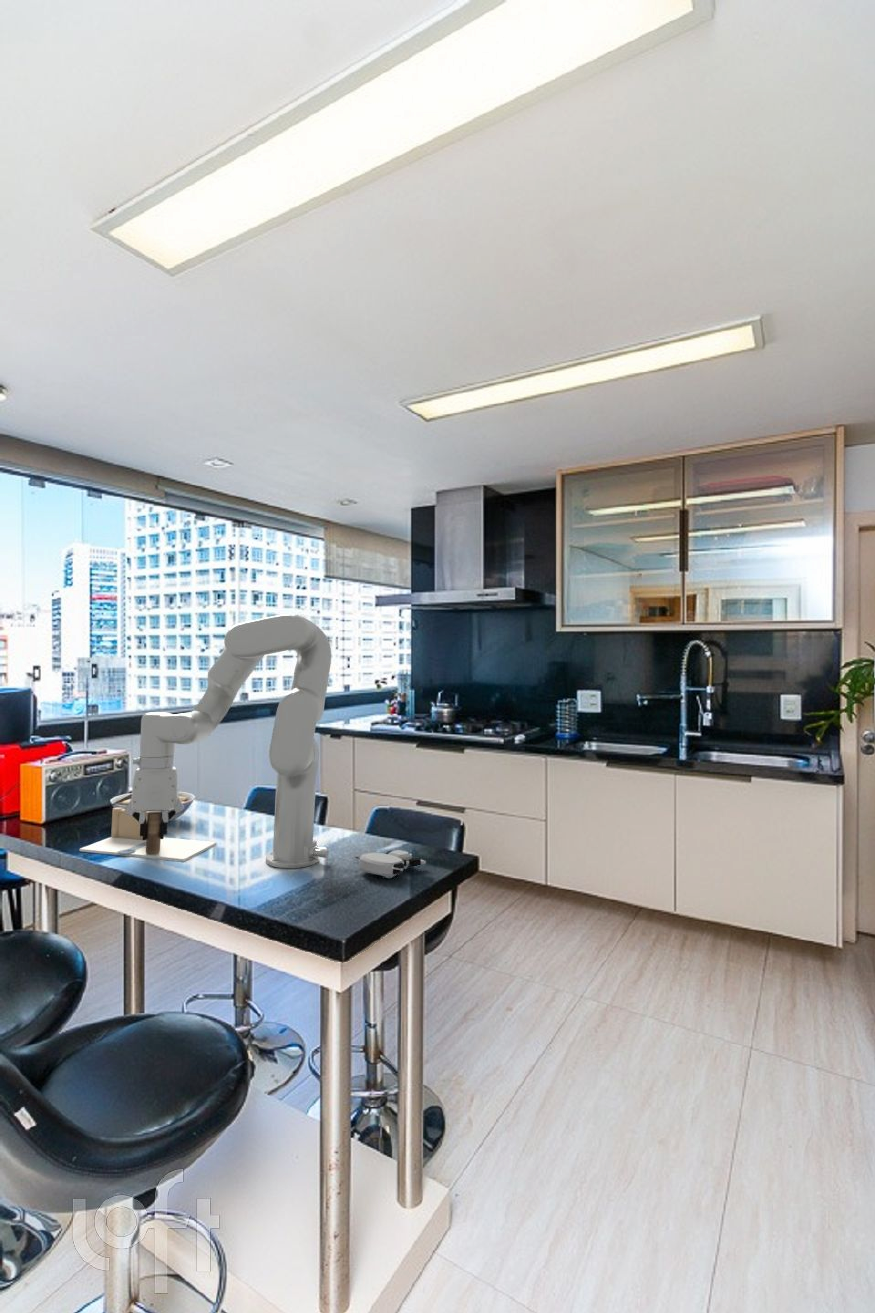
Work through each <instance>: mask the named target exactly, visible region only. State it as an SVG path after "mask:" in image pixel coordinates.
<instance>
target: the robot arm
mask: <svg viewBox="0 0 875 1313" xmlns="http://www.w3.org/2000/svg"><path fill="white" fill-rule="evenodd" d="M223 643H224V648H225V649H223V651H222V652H221V654H220V656H219V657H218V658H217V659H216V661H215V662H214V663H213V665H212V666H211V667H210V669H209V670H208V673H207V681H208V682H207V687H206V689H205V692H204V694H203V696H202V697H201V699H200V700H199V701H198V703H197V704H196V705H195V707H194V708H193V709H192V711H188V712H187V711H186V712H184V713H183V712H182V713H177V714H173V713H172V712H167V711H166V712H164V711H160V712H159V711H153V712H146V713H144V714H143V715H142V716H141V721H140V740H139V741H140V742H139V743H140V744H139V757H137V758H133V759H132V765H137V766H138V768H136V769H135V771H134V775H133V780H132V781H133V782H132V790H131V793H132V798H131V801H130V802H129V804H128V805H127V807H126V808H125V810H124V812H125V813H126V814H129V815H131V816H133V817H134V818H135V819H136V820H137V821H138V822H139V823H140V836H143V840H146V836H147V821H146V820H147V819H146V813H147V811H162V814H163V818H162V822H161V829H160V839H163V838H164V837H165V836H167V835H168V825H169V824H168V822H170V821H169V820H170V819H171V818H172V817H173V816H174V815H175V814H177V813H179V812H180V811H182V810H183V809H184V806H183V804H182V802H181V801H180V799H179V797H178V792H179V790H178V789H179V788H178V787H179V785H178V784H179V782H178V774H177V773H178V772H177V768H176V767H175V766H174V758H173V753H174V754H175V744H176V745H177V744H178V745H190V744H194V743H196V742H199V741H202V740H205V739H207V737H209V736H210V735H211V734H212V733H213V732H214V731H215V729H216V728H217V727H218V726H219V724H220V723H221V722H222V721H223V719H224V717H225V716H226V715H227V713H228V712H229V709H230V708H231V706H232V704H233V703H234V700H235V699H236V698H237V695H238V692H239V691H240V690H241V688H242V687H243V685H244V684H245V682H246V680H247V679H248V678H250V675H251V674H252V673H253V671H254V670H255V669H256V667H257V666H258V665H259V664H260V662H261V661H262V659H263V658H264V657H265V656H266V655H270V654H276V653H281V652H287V651H295V653H296V655H297V661H296V663H295V667H294V672H293V679H292V684H291V688H290V691H289V692H287V693H286V694H284V695H283V697H282V698H281V699H280V702H279V703H278V706H277V709H276V712H275V718H274V723H273V728H272V734H271V739H270V743H269V744H270V745H269V751H268V752H269V753H268V759H269V763H270V766H271V768H272V769H273V770H274V772H275V773H277V775H276V785H275V786H276V787H275V797H274V798H275V800H274V801H275V802H274V804H275V805H274V821H273V822H274V823H273V824H274V825H273V842H272V844H273V846H272V852H270V853H267V855H266V857H265V863H267V865H269V866H271V867H275V868H279V869H280V868H281V869H297V868H299V869H300V868H306V867H310V866H313V865H315V864H316V863H317V862H319V860H320V859H319V858H323V859H324V858H325V859H327V858H328V857H329V849H328V848H327V847H325V846H324V847H323V846H321V847H319V846H318V845H317V843H318V842H317V840H314V829H315V828H314V826H315V824H314V823H315V803H316V789H317V774H318V767H319V766H318V765H319V755H320V752H319V745H318V742H317V740H316V739H315V738H314V737H315V732H316V727H317V723H319V721H320V720H321V719H322V717H323V715H324V713H325V712H324V711H325V710H324V709H325V703H326V702H325V701H326V696H327V691H328V685H329V677H330V671H331V663H332V648H331V644H330V641H329V639H328V637H327V635H326V634H325V632H324V631H323V630H322V628H320V627H319V626H318V625H317V624H316V623H314V622H313V621H311V620H309V619H308V618H305V617H304V616H301V615H298V614H293V613H286V614H280V615H273V616H269V617H264V618H261V619H255V620H250V621H249V620H248V621H245V622H241V623H236V624H234V625H233V626H231V627H230V628H229V629H228V630H227V632H226V634H225V636H224V642H223ZM176 806H177V807H176ZM175 807H176V808H175ZM169 810H171V811H170V812H169ZM139 812H140V813H139Z"/></svg>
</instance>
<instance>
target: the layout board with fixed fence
mask: <svg viewBox="0 0 875 1313" xmlns="http://www.w3.org/2000/svg"><path fill="white" fill-rule="evenodd" d="M124 810H125V809H123V808H114V807H113V808H112V814H111V815H112V817H111V833H110V837H107V838H104V839H102V840H100V841H97V842H94V843H92V844H89V845H85V846H83V847H80V848H79V852H85V853H92V854H93V853H94V854H101V855H102V854H103V855H112V856H113V855H114V856H124V857H135V858H143V859H153V860H163V861H165V860H166V861H175V862H186V861H188V860H190V859H192V858H193V857H196V856H198V855H200V854H201V853H204V852H205V851H207V850H209V849H211V848H213V847H214V846H216V845H217V843H218V842H216V841H209V840H208V841H206V840H198V839H197V840H195V839H183V838H176V837H175V838H173V837H165V836H164V838H163V839H161V842H160V852H158V853H153V854H148V853H146V840H143V836H140V823H139V822H138V821H137V820H136V819H135V818H134V817H133V816H131V815H129V814H126V813H125V812H124ZM148 812H152V811H147V813H146V819H147V817H148ZM139 813H140V812H139ZM146 821H147V820H146Z"/></svg>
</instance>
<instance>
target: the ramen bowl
mask: <svg viewBox="0 0 875 1313" xmlns="http://www.w3.org/2000/svg"><path fill="white" fill-rule="evenodd" d="M178 797H179V799H180V801H181V802H182V804H183V806H184V809H183V810H182V811H180V812H179V813H177V814H175V815H174V816H173V817H172V818H171V819H170V820H169V821H168V822H171V821H174V820H175V819H178V818H180V817H182V815H184V814H185V812H186V811H187V810H188V809H189V808H190V807H191V805H192V804H193V802H194V800H195V798H196V796H195V795H194V794H193V793H189V792H184V791H178ZM131 798H132V792H131V793H130V792H129V793H128V792H127V793H124V794H120V795H118V796H116V795H115V796H114V797H112V798H111V799H109V801H110V805H108V807H113V808H123V809H125V808H126V807H127V805H128V804H129V802H130V801H131ZM176 807H177V806H176ZM176 807H175V808H176ZM170 811H171V810H169V812H170ZM161 812H162V811H161ZM162 818H163V814H162Z"/></svg>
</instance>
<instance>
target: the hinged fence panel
mask: <svg viewBox="0 0 875 1313" xmlns="http://www.w3.org/2000/svg"><path fill="white" fill-rule="evenodd" d="M161 822H162V812H161V811H152V812H148V817H147V836H146V853H148V854H153V853H158V852H160V842H161V839H160V829H161Z"/></svg>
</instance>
